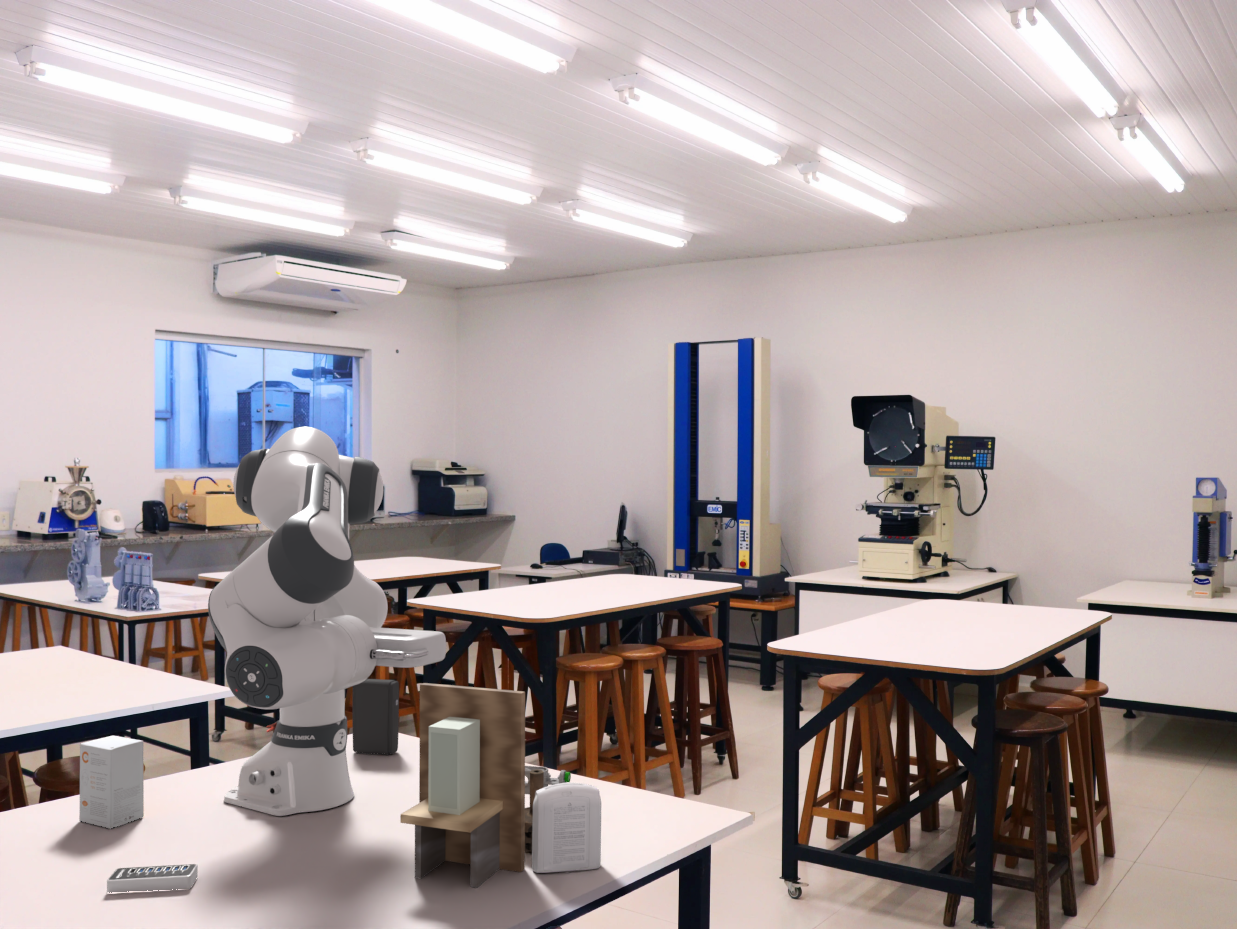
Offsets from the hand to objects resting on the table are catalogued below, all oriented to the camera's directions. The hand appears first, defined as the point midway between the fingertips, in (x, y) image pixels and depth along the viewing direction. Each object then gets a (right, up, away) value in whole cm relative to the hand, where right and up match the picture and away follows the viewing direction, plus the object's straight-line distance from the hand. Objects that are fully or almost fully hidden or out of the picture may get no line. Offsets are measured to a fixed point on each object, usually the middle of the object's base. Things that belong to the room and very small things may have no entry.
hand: (401, 635), depth 135 cm
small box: (-55, -36, +30) cm, 73 cm away
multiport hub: (-36, -36, +4) cm, 51 cm away
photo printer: (+22, -36, +11) cm, 44 cm away
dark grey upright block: (-21, -37, +70) cm, 82 cm away
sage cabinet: (+6, -26, +8) cm, 28 cm away
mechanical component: (+17, -36, +26) cm, 48 cm away
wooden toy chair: (+6, -36, +8) cm, 37 cm away
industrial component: (+17, -36, +17) cm, 44 cm away
